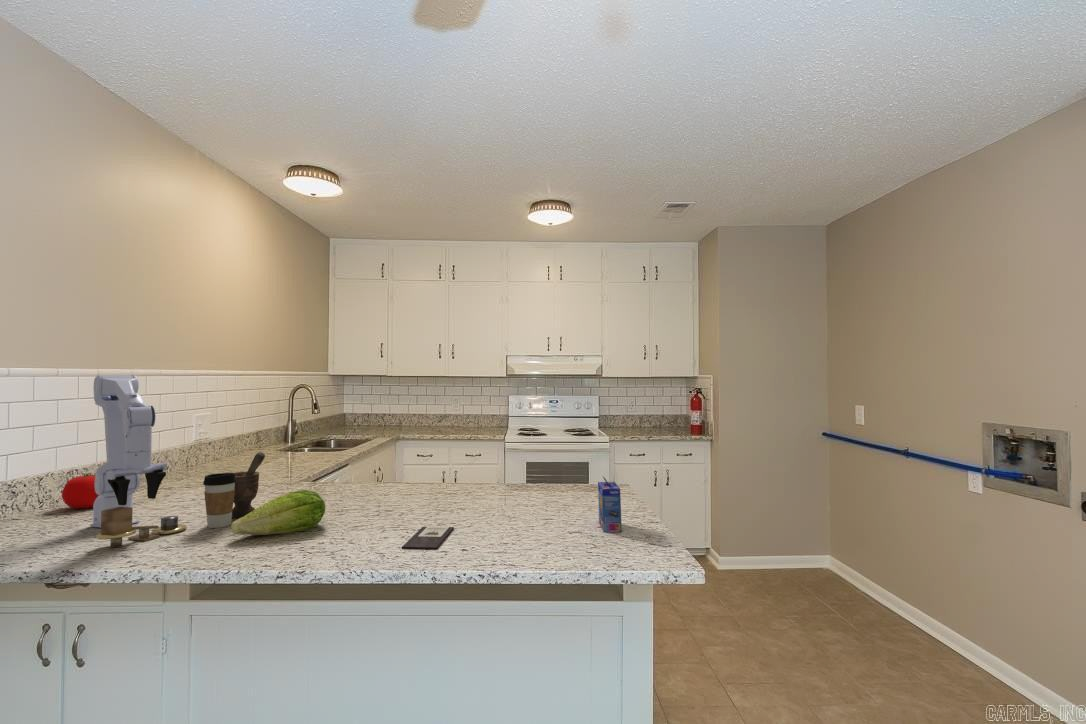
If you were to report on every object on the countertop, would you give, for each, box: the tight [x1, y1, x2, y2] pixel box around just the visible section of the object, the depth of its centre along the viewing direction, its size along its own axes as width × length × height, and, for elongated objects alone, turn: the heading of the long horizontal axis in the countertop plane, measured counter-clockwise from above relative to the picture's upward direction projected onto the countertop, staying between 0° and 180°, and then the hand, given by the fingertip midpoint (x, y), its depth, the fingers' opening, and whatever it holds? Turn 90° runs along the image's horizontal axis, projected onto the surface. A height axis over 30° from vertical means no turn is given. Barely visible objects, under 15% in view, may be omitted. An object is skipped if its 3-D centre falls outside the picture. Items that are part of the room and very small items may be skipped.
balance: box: [95, 515, 187, 549], centre depth 144 cm, size 8×22×4 cm, turn 162°
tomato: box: [61, 473, 100, 510], centre depth 179 cm, size 12×13×11 cm
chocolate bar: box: [401, 526, 455, 551], centre depth 144 cm, size 9×1×18 cm
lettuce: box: [230, 489, 326, 536], centre depth 150 cm, size 12×24×13 cm
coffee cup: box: [202, 472, 236, 529], centre depth 157 cm, size 8×8×15 cm
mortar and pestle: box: [232, 451, 266, 519], centre depth 168 cm, size 12×9×20 cm
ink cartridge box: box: [597, 476, 623, 533], centre depth 154 cm, size 10×6×14 cm, turn 2°
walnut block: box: [100, 507, 133, 536], centre depth 137 cm, size 4×4×6 cm
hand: (137, 501), depth 145 cm, fingers open, 7 cm apart
